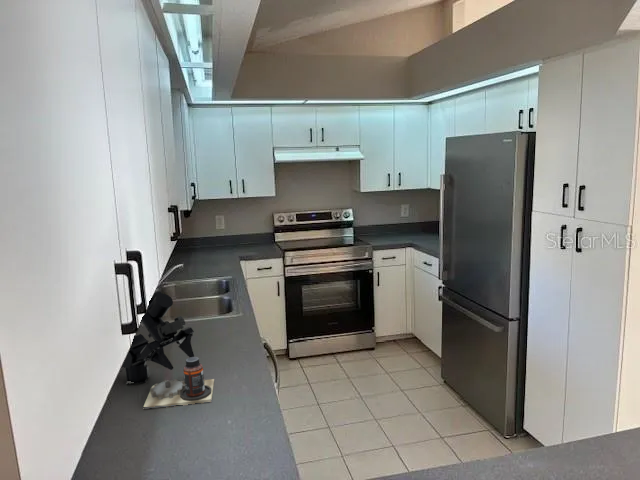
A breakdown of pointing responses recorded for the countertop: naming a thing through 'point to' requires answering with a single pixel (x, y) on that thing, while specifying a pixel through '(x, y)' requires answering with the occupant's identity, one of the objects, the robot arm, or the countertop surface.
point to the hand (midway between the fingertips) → (183, 363)
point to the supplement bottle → (194, 377)
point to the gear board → (177, 398)
